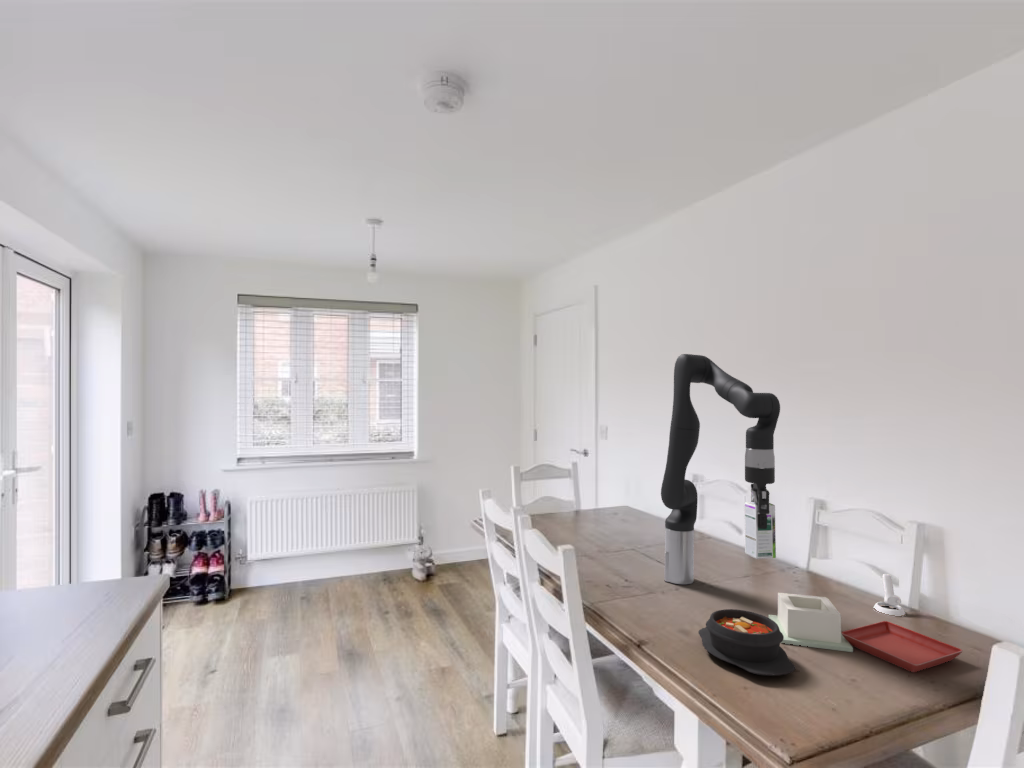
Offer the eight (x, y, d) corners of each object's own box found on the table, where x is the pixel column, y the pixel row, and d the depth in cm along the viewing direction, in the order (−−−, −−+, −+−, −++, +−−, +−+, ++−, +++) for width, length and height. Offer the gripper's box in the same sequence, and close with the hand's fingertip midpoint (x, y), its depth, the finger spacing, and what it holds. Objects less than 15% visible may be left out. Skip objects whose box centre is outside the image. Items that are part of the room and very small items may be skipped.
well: (780, 643, 136) (780, 611, 136) (768, 618, 152) (768, 589, 152) (852, 652, 132) (853, 618, 132) (832, 625, 148) (832, 595, 148)
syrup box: (756, 559, 146) (756, 505, 147) (744, 553, 152) (744, 501, 153) (776, 558, 147) (776, 504, 148) (762, 552, 153) (762, 500, 153)
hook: (888, 584, 166) (904, 577, 160) (896, 625, 159) (913, 619, 153) (863, 578, 166) (878, 571, 161) (870, 618, 159) (886, 613, 154)
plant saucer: (916, 679, 120) (916, 664, 120) (839, 644, 137) (839, 631, 137) (964, 664, 127) (964, 650, 127) (885, 632, 144) (885, 620, 144)
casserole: (817, 679, 119) (817, 640, 119) (742, 688, 115) (743, 648, 115) (744, 630, 144) (744, 598, 144) (680, 636, 139) (680, 603, 139)
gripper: (741, 461, 158) (741, 518, 158) (748, 467, 144) (749, 530, 144) (769, 462, 156) (769, 520, 156) (779, 468, 142) (780, 532, 142)
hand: (759, 525), depth 150 cm, fingers closed on syrup box, 7 cm apart
